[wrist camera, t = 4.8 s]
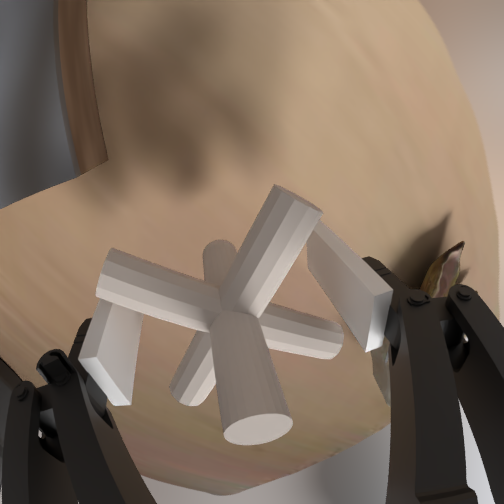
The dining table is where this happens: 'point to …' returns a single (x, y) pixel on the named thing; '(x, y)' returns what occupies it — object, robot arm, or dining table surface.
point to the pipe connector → (233, 317)
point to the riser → (45, 97)
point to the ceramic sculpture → (436, 286)
